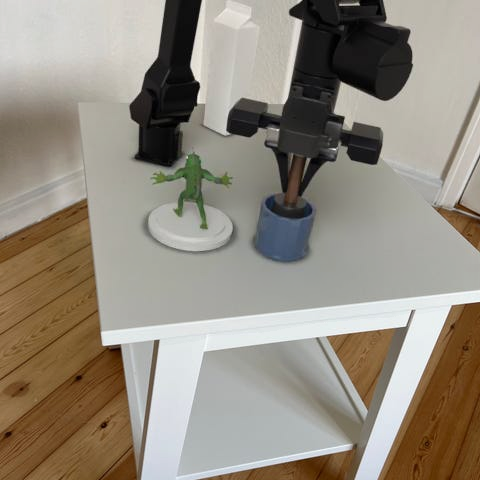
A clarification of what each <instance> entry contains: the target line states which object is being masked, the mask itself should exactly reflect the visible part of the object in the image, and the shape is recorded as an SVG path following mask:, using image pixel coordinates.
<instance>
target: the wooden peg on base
mask: <svg viewBox="0 0 480 480" xmlns="http://www.w3.org/2000/svg"><path fill="white" fill-rule="evenodd" d="M307 159H308V158H306V157H304V156H303V155H299V154H295V153H292V156H291V164H290V172H289V177H288V183H287V188H286V192H285V193H283V192H278V193H279V194H277V195H276V196H275V197H274V202H273V207H272V213H275V214H277V215H279V216H282V217H286V218H295V219H300V218H303V217H304V213H305V209H306V205H307V202H306V200H305V199H306V198H305V199H304V197H303V196H301V197H300V196H298V194H299V189H300V185H301V182H302V180H303V177H304V174H305V170H306V169H305V168H306V165H307Z"/></svg>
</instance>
